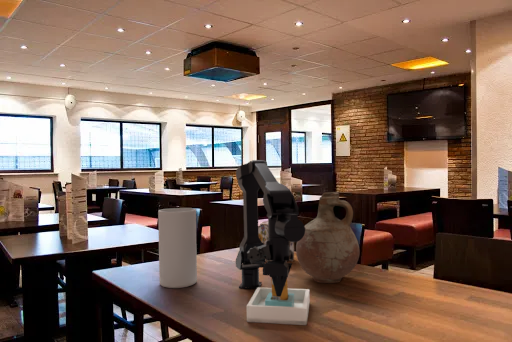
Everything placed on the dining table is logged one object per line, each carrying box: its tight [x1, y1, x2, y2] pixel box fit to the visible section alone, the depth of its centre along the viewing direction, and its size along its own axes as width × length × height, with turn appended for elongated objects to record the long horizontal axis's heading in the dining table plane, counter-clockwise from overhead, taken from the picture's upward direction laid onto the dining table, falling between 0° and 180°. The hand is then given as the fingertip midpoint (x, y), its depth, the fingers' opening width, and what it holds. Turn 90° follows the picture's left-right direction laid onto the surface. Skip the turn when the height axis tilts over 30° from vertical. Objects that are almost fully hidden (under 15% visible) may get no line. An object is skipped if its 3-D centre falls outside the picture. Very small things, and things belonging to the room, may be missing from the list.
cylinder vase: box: [157, 207, 198, 289], centre depth 136 cm, size 12×12×25 cm
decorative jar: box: [258, 220, 295, 262], centre depth 169 cm, size 12×12×18 cm
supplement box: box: [270, 277, 289, 300], centre depth 107 cm, size 3×3×10 cm
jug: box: [295, 191, 361, 284], centre depth 137 cm, size 22×22×30 cm
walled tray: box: [246, 286, 311, 326], centre depth 107 cm, size 16×15×4 cm
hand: (279, 293), depth 107 cm, fingers closed on supplement box, 4 cm apart
